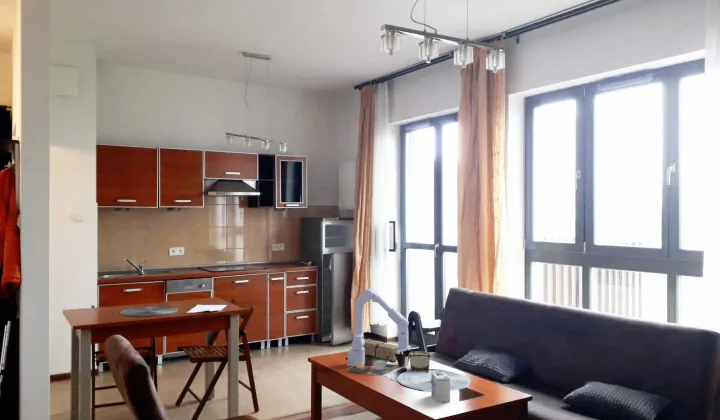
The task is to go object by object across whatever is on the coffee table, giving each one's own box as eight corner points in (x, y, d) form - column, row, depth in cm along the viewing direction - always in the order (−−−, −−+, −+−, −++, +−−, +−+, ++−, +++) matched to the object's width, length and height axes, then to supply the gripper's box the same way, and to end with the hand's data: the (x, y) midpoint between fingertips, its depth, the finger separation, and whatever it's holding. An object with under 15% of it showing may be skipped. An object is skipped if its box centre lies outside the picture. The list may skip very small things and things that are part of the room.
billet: (398, 367, 315) (398, 357, 315) (401, 366, 318) (401, 355, 319) (405, 368, 313) (405, 357, 313) (408, 367, 316) (408, 356, 317)
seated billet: (375, 372, 300) (375, 361, 301) (378, 371, 304) (378, 360, 304) (381, 373, 298) (381, 362, 298) (385, 372, 302) (385, 360, 302)
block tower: (402, 360, 336) (368, 351, 357) (402, 346, 336) (369, 337, 357) (393, 363, 330) (359, 353, 352) (393, 348, 330) (360, 339, 352)
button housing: (350, 373, 303) (350, 367, 303) (357, 370, 310) (357, 364, 310) (362, 375, 299) (362, 369, 299) (370, 372, 306) (370, 366, 306)
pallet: (366, 375, 300) (366, 370, 300) (383, 367, 316) (383, 362, 316) (385, 378, 294) (385, 373, 294) (401, 369, 310) (401, 365, 310)
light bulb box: (431, 395, 264) (430, 372, 264) (445, 394, 265) (445, 371, 265) (436, 402, 254) (435, 378, 254) (450, 402, 254) (450, 377, 254)
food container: (431, 369, 311) (430, 351, 311) (431, 372, 305) (431, 353, 305) (408, 369, 312) (408, 351, 312) (408, 372, 306) (408, 353, 306)
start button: (354, 371, 304) (354, 365, 304) (358, 369, 308) (358, 364, 308) (361, 372, 302) (361, 366, 302) (365, 370, 305) (365, 365, 305)
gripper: (403, 343, 308) (404, 368, 307) (415, 338, 320) (415, 362, 320) (392, 341, 311) (392, 366, 311) (404, 337, 324) (404, 361, 324)
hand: (403, 364), depth 316 cm, fingers open, 7 cm apart
